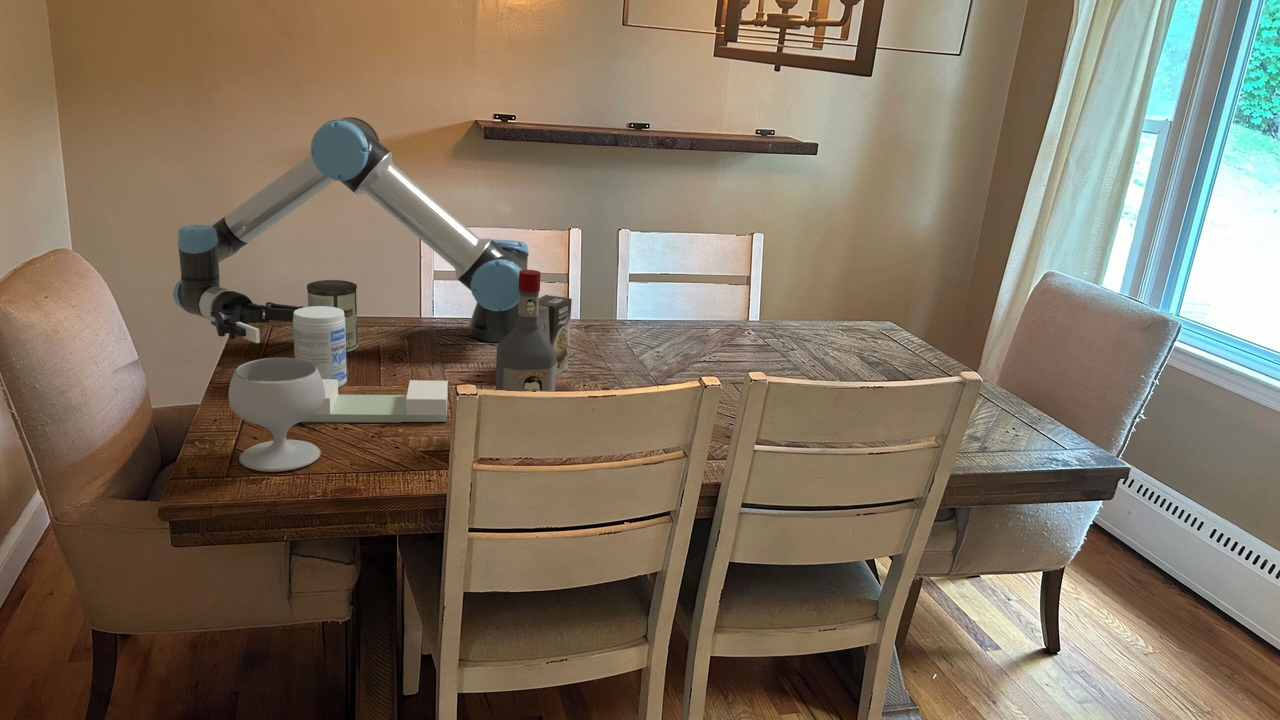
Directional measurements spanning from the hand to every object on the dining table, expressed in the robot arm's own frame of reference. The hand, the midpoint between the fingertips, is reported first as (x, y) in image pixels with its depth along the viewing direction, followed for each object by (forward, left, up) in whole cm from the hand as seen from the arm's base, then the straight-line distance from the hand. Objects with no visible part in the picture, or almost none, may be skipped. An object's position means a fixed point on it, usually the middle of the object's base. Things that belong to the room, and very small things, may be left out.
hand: (289, 329), depth 178 cm
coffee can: (-6, -17, -9) cm, 20 cm away
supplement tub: (-7, +7, -9) cm, 13 cm away
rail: (-18, +22, -9) cm, 30 cm away
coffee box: (-52, -2, -9) cm, 53 cm away
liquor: (-45, +34, -9) cm, 57 cm away
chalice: (-6, +42, -9) cm, 43 cm away
